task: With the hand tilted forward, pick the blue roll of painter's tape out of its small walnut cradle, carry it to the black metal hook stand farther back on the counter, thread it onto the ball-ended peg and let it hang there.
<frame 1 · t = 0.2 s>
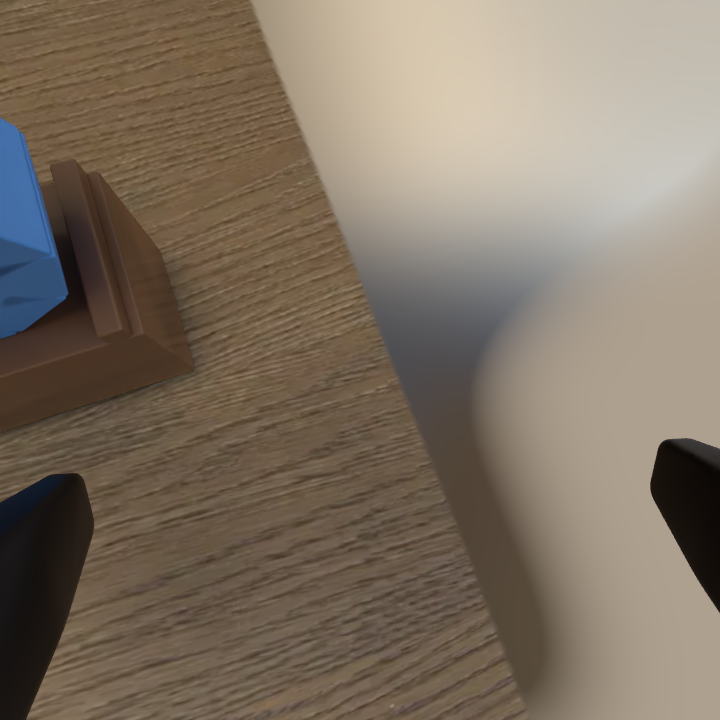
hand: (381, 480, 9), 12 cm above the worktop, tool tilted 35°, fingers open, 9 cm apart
tape cradle: (67, 342, 21), on the worktop
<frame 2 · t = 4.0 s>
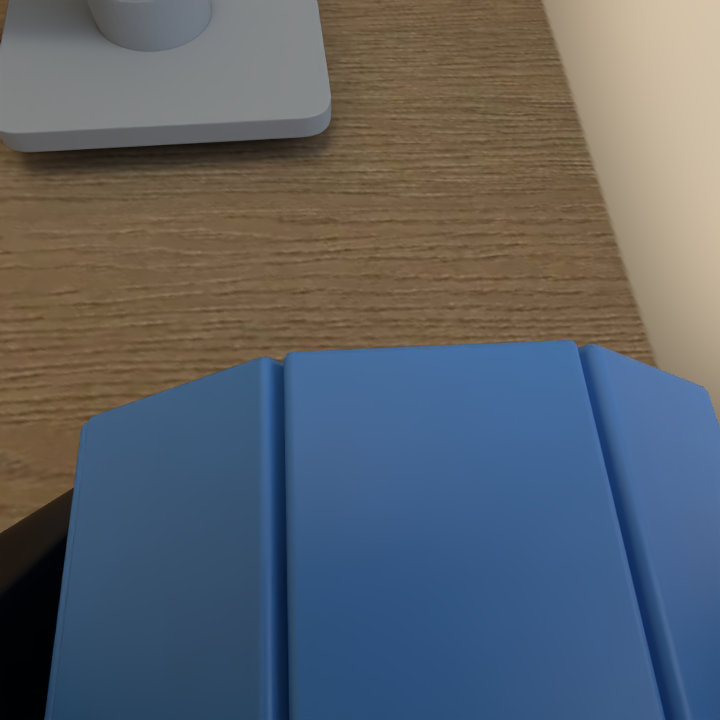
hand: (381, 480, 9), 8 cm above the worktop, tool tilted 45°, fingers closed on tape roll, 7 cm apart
tape roll: (376, 577, 10), point 6 cm above the worktop, touching gripper, tape cradle
shower valve: (141, 39, 23), on the worktop
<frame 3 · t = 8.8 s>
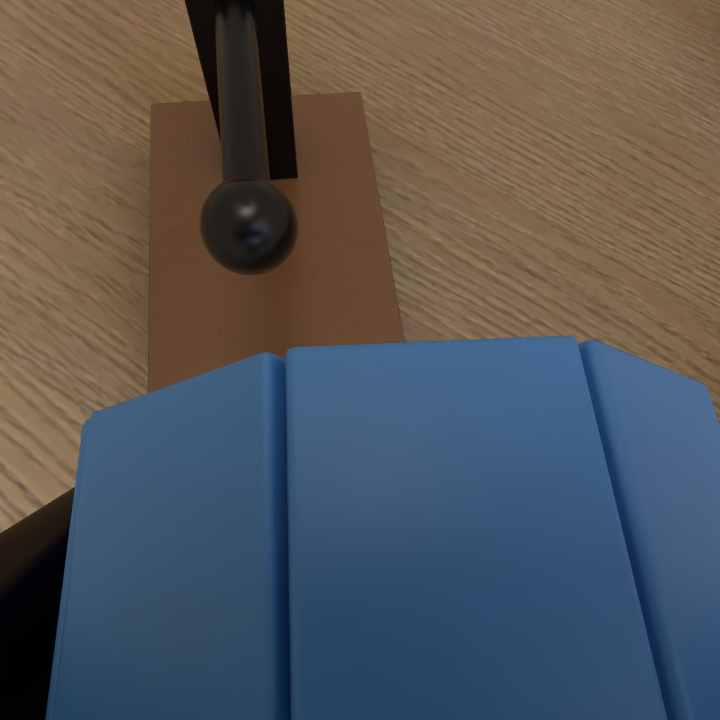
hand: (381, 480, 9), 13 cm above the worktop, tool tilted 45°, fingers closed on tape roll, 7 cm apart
tape roll: (376, 576, 10), point 10 cm above the worktop, touching gripper
hook stand: (274, 282, 24), on the worktop
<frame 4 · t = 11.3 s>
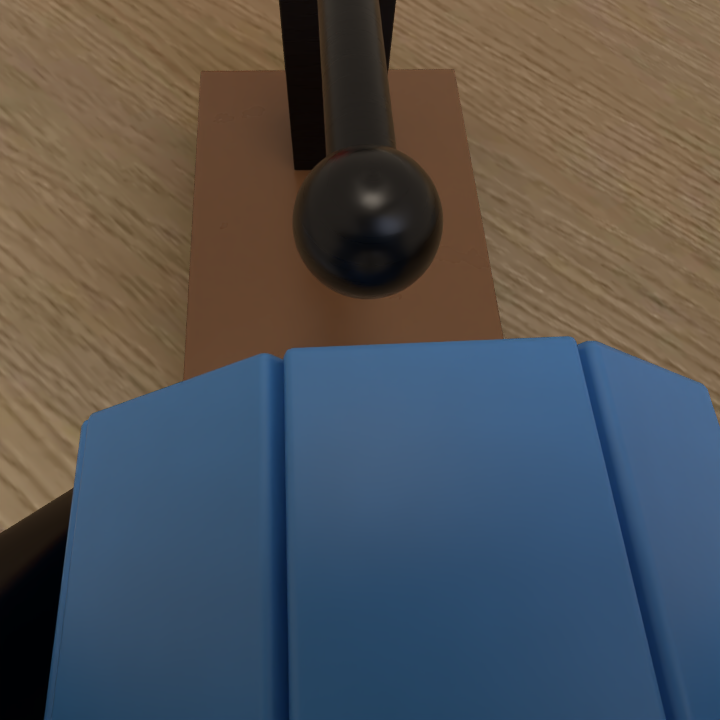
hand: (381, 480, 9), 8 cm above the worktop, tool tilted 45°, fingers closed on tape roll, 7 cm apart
tape roll: (376, 577, 10), point 6 cm above the worktop, touching gripper
hook stand: (342, 296, 19), on the worktop
when the fingers open (7 cm above the worktop, at t = 13.8 s): tape roll stays where it is, resting on hook stand.
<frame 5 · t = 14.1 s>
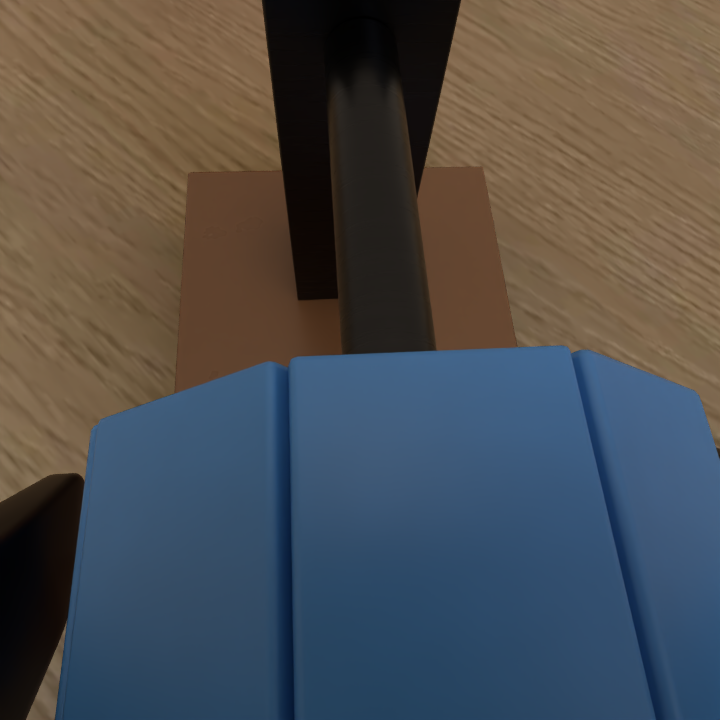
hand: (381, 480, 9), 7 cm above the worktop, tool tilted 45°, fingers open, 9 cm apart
tape roll: (376, 579, 10), point 5 cm above the worktop, touching hook stand
hook stand: (354, 454, 16), on the worktop
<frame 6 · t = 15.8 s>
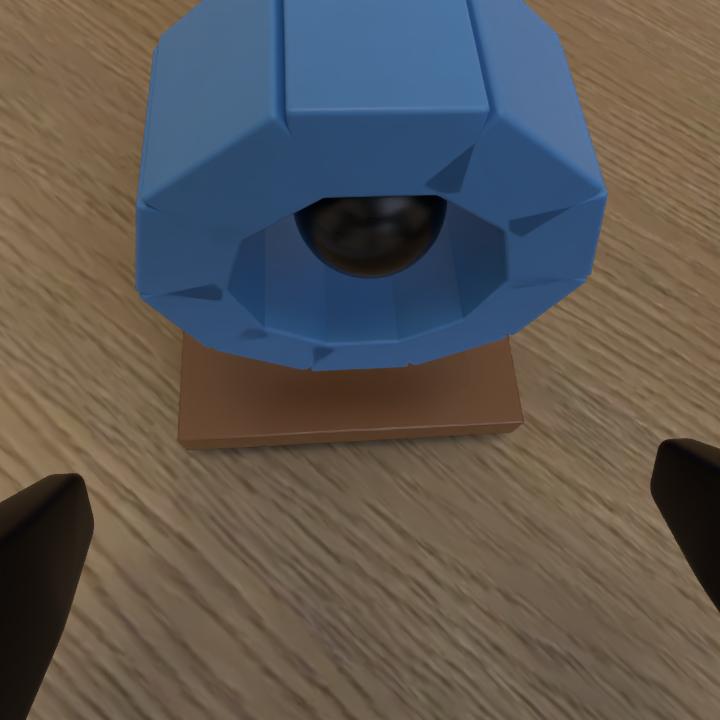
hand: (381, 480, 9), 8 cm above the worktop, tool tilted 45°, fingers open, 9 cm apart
tape roll: (355, 311, 13), point 5 cm above the worktop, touching hook stand
hook stand: (343, 284, 19), on the worktop
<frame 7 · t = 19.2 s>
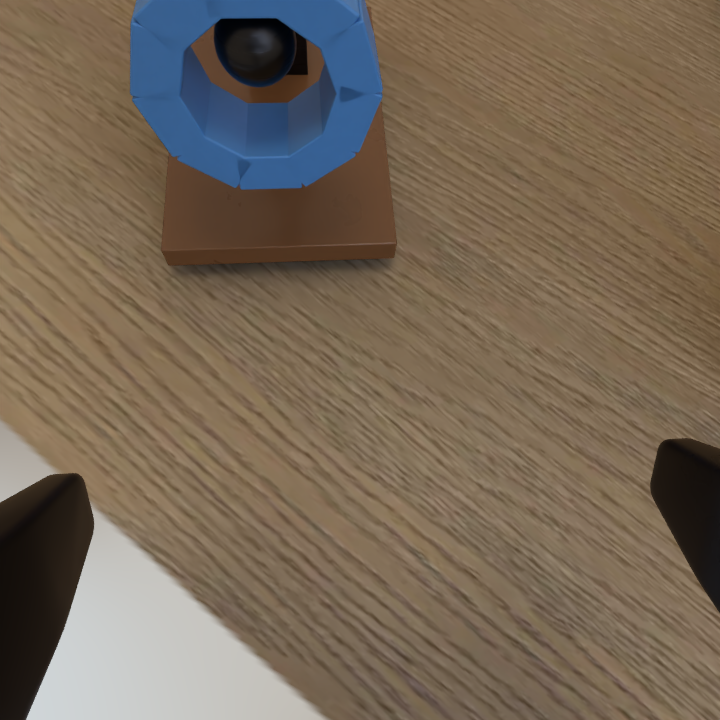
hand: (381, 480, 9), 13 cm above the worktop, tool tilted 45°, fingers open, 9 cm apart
tape roll: (271, 161, 20), point 5 cm above the worktop, tilted 9°, touching hook stand
hook stand: (281, 164, 27), on the worktop
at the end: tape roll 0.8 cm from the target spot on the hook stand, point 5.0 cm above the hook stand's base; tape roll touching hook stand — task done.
